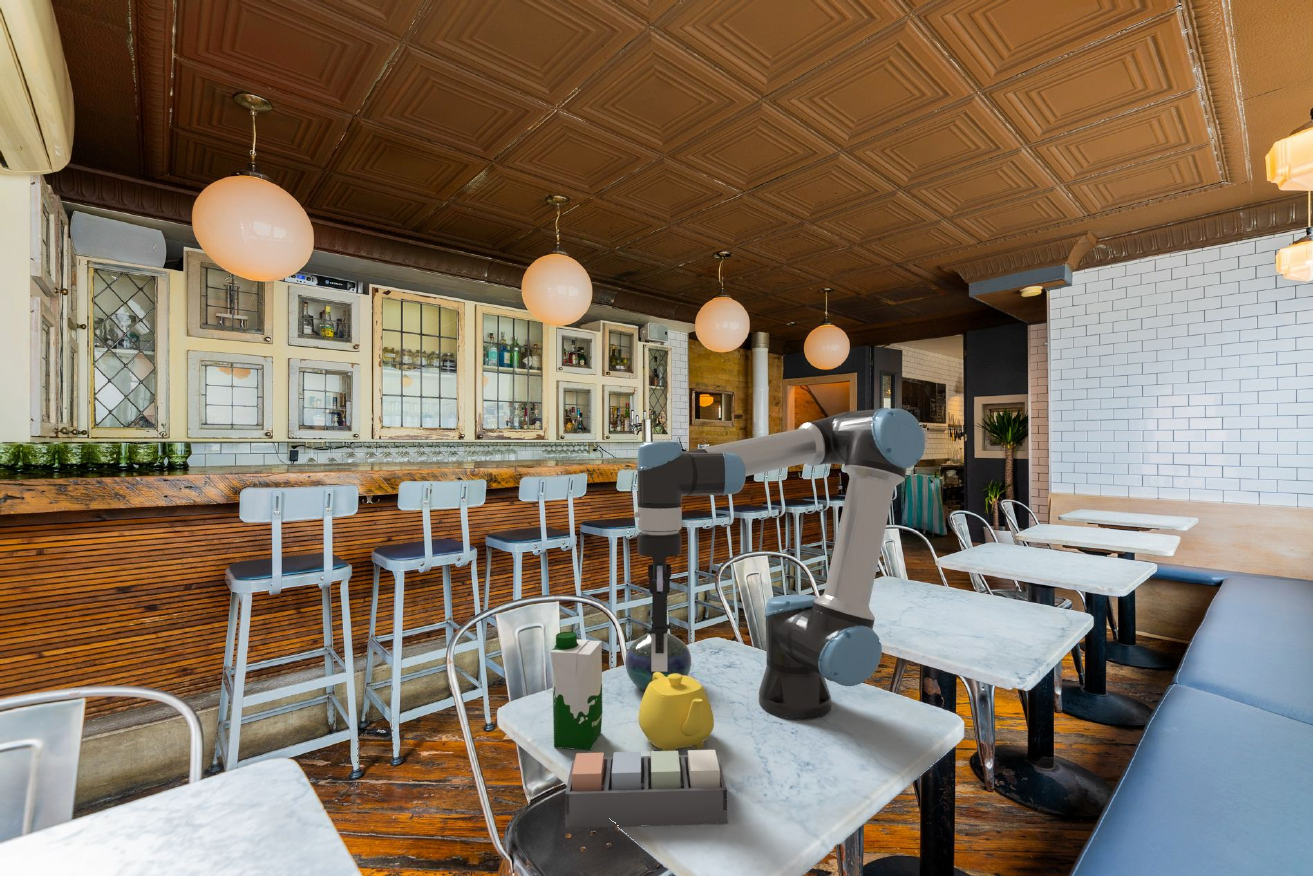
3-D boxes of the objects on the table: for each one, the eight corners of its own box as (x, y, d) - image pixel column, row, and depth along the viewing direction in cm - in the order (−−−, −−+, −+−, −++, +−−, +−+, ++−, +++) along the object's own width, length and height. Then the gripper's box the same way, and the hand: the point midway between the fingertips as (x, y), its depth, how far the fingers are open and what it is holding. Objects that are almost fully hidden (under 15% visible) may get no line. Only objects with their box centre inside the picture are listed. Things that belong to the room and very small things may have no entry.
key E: (604, 771, 95) (603, 752, 95) (601, 793, 89) (601, 773, 89) (576, 772, 95) (576, 753, 95) (572, 794, 89) (571, 774, 89)
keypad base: (719, 784, 97) (718, 754, 97) (727, 823, 87) (727, 789, 87) (573, 788, 97) (573, 758, 97) (565, 828, 87) (564, 794, 87)
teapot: (668, 778, 99) (667, 705, 100) (625, 727, 118) (624, 665, 118) (736, 760, 105) (735, 690, 105) (685, 714, 123) (684, 654, 123)
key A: (715, 768, 95) (715, 749, 95) (720, 790, 89) (719, 770, 89) (688, 769, 95) (687, 750, 95) (691, 791, 89) (690, 771, 89)
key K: (641, 770, 95) (640, 751, 95) (641, 792, 89) (640, 772, 89) (614, 771, 95) (613, 752, 95) (611, 793, 89) (611, 773, 89)
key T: (678, 769, 95) (678, 750, 95) (680, 791, 89) (680, 771, 89) (651, 770, 95) (650, 751, 95) (651, 792, 89) (651, 772, 89)
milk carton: (564, 727, 118) (562, 627, 118) (607, 731, 116) (606, 629, 116) (547, 749, 109) (545, 641, 110) (594, 754, 108) (592, 644, 108)
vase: (693, 700, 129) (692, 640, 130) (623, 701, 130) (622, 640, 130) (690, 673, 145) (689, 619, 145) (627, 674, 145) (627, 619, 145)
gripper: (638, 526, 108) (638, 656, 107) (636, 537, 94) (636, 685, 94) (679, 526, 108) (679, 656, 107) (683, 537, 95) (683, 685, 94)
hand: (659, 669), depth 101 cm, fingers closed
